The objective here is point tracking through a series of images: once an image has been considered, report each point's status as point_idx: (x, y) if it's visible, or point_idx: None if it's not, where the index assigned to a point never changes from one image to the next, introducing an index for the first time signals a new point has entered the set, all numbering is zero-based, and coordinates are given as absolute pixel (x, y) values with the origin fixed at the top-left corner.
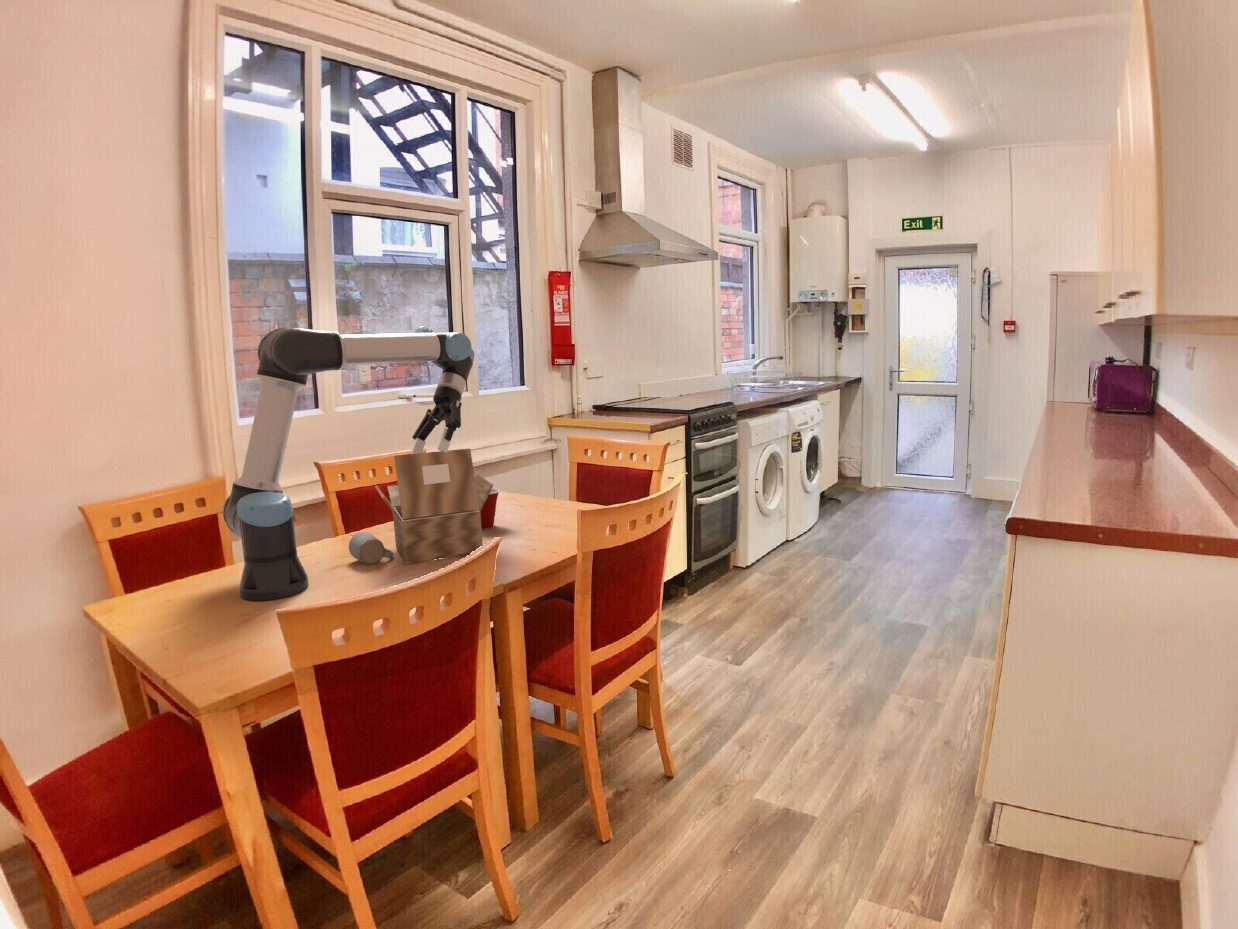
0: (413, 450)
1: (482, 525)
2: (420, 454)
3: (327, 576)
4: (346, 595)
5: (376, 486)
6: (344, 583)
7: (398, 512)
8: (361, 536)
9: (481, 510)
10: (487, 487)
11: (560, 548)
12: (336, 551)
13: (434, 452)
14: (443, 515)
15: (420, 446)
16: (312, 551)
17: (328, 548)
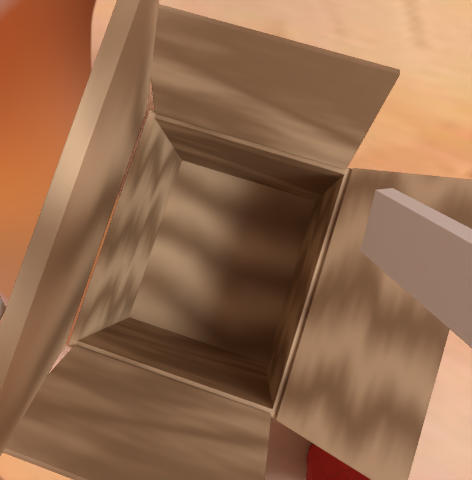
0: (423, 217)
1: (313, 446)
2: (80, 114)
3: (234, 17)
4: (99, 6)
5: (377, 66)
6: None
7: (336, 188)
8: None
9: (317, 472)
10: (35, 429)
11: (18, 468)
12: (400, 90)
13: (37, 226)
14: (290, 322)
15: (465, 304)
16: (443, 51)
17: (441, 86)
